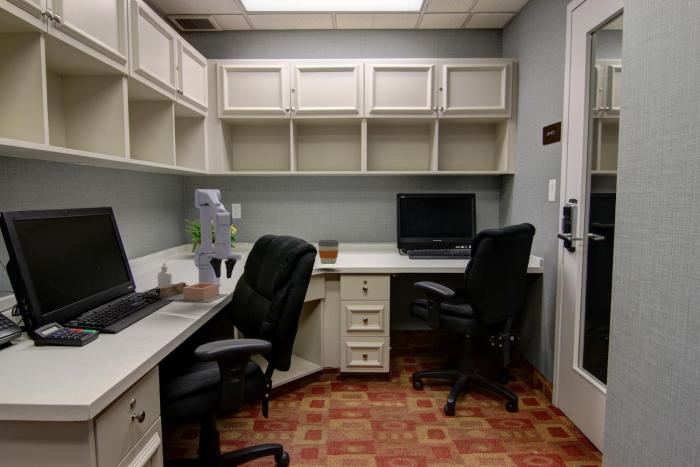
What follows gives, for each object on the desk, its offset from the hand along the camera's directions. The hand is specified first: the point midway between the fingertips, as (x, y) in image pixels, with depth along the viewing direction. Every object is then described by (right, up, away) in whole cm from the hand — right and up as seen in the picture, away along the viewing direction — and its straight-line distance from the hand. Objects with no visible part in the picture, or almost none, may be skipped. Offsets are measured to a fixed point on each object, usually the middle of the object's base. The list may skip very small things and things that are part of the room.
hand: (223, 277), depth 159 cm
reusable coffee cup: (+36, -2, +90) cm, 97 cm away
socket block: (-10, -8, +3) cm, 13 cm away
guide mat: (-14, -8, +4) cm, 17 cm away
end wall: (-22, -8, +6) cm, 24 cm away
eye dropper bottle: (-30, -8, +16) cm, 35 cm away
